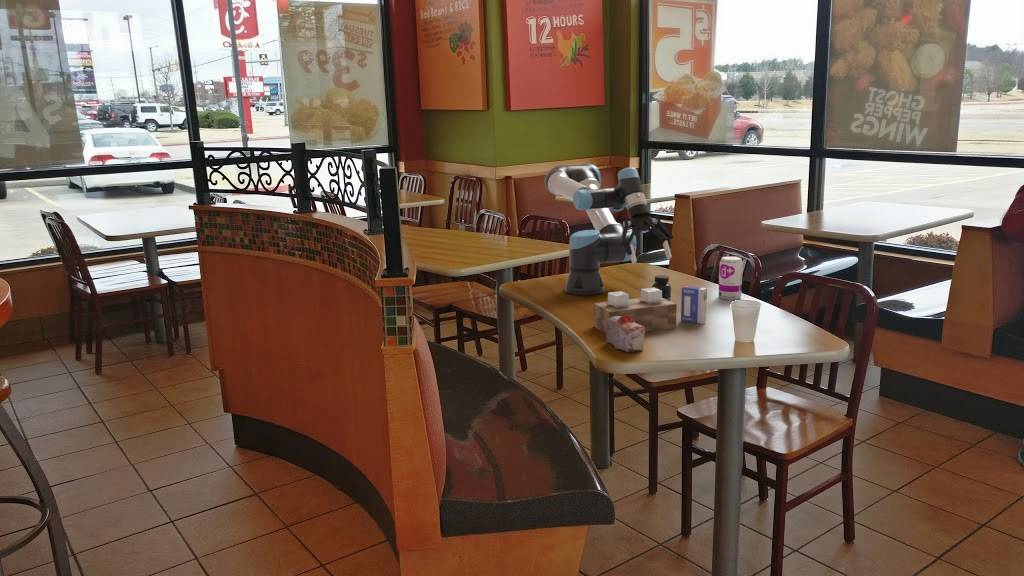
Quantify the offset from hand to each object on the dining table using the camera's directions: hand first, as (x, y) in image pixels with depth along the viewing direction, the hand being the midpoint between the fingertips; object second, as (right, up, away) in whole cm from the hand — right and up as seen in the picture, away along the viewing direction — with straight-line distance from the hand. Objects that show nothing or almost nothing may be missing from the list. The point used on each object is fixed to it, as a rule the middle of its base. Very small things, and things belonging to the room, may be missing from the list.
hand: (652, 260), depth 292 cm
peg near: (-15, -19, -26) cm, 36 cm away
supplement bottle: (+3, -18, -2) cm, 18 cm away
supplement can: (+31, -14, +12) cm, 36 cm away
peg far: (-4, -18, -22) cm, 29 cm away
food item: (-16, -28, -43) cm, 54 cm away
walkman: (+11, -21, -18) cm, 30 cm away
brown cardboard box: (-10, -23, -23) cm, 34 cm away
